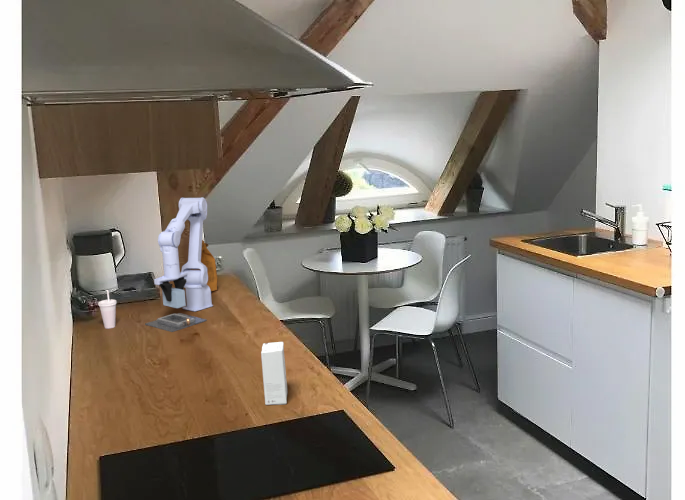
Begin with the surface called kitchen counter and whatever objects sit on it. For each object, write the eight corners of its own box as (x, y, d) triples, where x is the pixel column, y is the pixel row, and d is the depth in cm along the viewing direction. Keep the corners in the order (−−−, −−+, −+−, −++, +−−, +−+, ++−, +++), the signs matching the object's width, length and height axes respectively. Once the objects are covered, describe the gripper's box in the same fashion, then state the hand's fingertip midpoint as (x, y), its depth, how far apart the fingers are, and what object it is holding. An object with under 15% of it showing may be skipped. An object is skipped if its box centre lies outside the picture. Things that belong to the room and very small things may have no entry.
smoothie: (115, 329, 253) (111, 292, 250) (98, 329, 253) (94, 292, 250) (121, 324, 259) (117, 287, 256) (104, 324, 259) (100, 288, 257)
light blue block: (185, 305, 256) (184, 290, 255) (176, 308, 253) (175, 292, 252) (172, 302, 261) (170, 287, 260) (163, 305, 258) (162, 289, 257)
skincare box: (286, 404, 183) (283, 350, 180) (263, 405, 183) (260, 352, 180) (287, 391, 191) (284, 340, 188) (265, 393, 191) (262, 341, 188)
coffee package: (215, 285, 312) (211, 237, 308) (219, 292, 300) (216, 242, 296) (192, 288, 309) (189, 239, 305) (196, 294, 297) (192, 244, 293)
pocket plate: (179, 314, 270) (179, 307, 269) (206, 320, 260) (206, 313, 259) (145, 324, 257) (144, 317, 257) (172, 332, 247) (171, 324, 247)
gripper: (180, 258, 262) (183, 293, 265) (147, 266, 251) (151, 302, 254) (192, 260, 258) (195, 296, 260) (159, 268, 247) (163, 305, 249)
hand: (174, 299), depth 257 cm, fingers closed on light blue block, 4 cm apart
